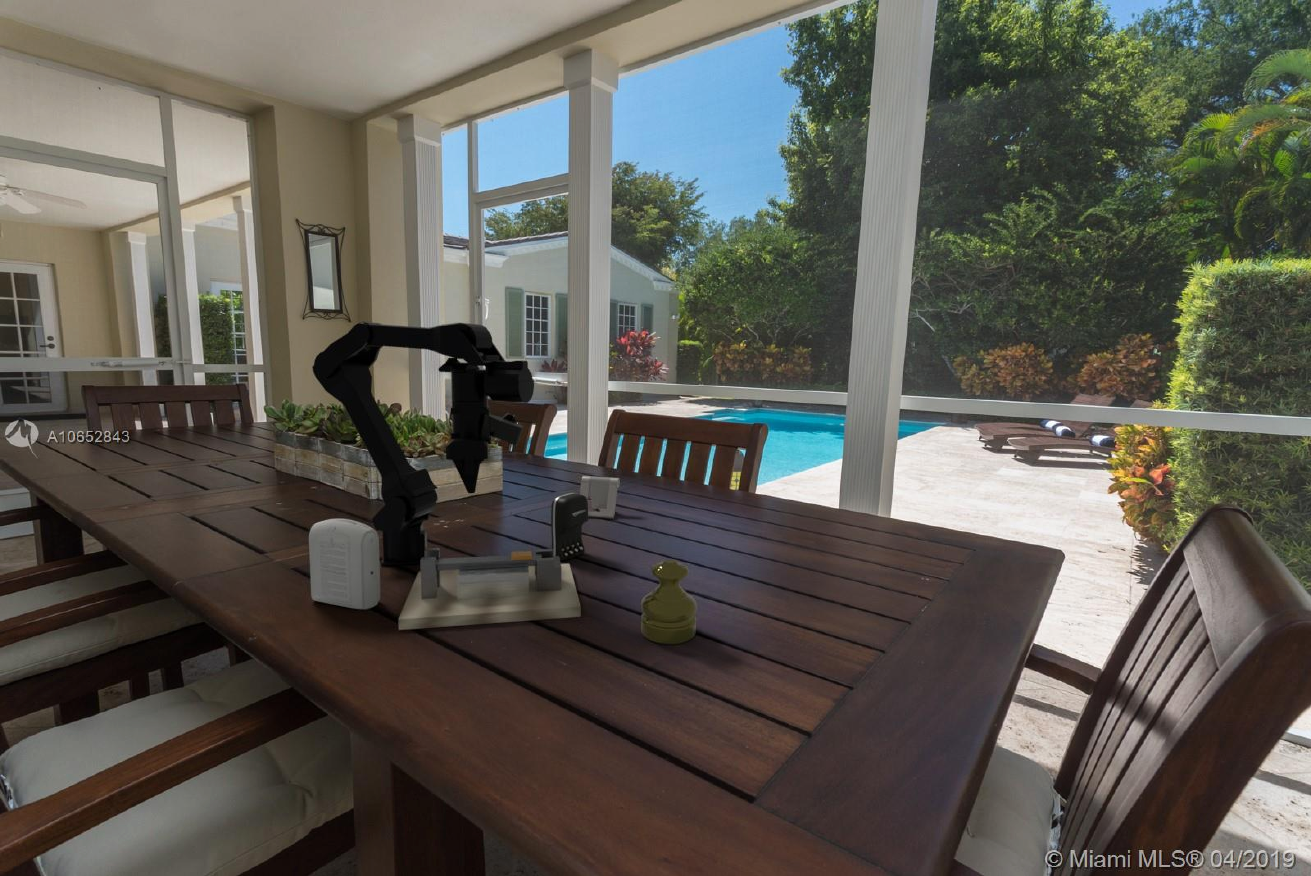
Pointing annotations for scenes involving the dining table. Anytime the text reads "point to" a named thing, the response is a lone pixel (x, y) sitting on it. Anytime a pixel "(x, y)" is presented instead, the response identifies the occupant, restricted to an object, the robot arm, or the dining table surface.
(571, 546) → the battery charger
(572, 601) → the base board
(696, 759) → the dining table surface
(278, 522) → the dining table surface
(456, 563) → the strap
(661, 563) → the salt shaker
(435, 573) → the bracket
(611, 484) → the portable electronic device stand
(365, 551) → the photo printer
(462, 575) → the finned block
